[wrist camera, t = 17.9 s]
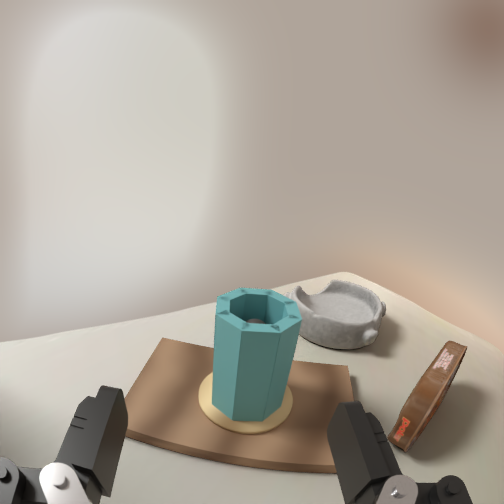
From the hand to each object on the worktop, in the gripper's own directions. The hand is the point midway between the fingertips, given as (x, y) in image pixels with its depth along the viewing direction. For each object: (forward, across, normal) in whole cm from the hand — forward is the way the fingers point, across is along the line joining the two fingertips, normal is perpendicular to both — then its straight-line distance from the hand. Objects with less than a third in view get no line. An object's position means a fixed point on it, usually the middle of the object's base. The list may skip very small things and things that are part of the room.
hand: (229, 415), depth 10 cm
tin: (+10, -21, +15) cm, 28 cm away
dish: (+29, -17, +16) cm, 37 cm away
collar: (+13, -3, +13) cm, 19 cm away
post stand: (+13, -3, +15) cm, 20 cm away
